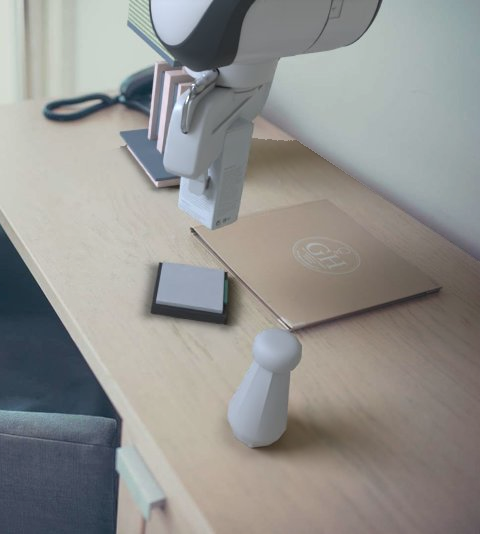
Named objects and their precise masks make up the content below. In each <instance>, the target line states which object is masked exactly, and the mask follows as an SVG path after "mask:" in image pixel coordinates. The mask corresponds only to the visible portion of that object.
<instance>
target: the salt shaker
mask: <svg viewBox="0 0 480 534" xmlns="http://www.w3.org/2000/svg"><path fill="white" fill-rule="evenodd" d="M251 354H252V357H253V361H252V362H251V364H250V366H249V367H248V369H247V371H246V373H245V375H244V377H243V378H242V380H241V382H240V384H239V386H238V387H237V389H236V391H235V392H234V394H233V396H232V397H231V400H230V401H229V403H228V407H227V420H228V422H229V425H230V428H231V430H232V433H233V437H234V438H235V439H237V440H238V441H239V442H241V443H242V444H244V445H246V446H247V447H249V448H250V449H254V448H260V447H267V446H270V445H271V444H273V443H275V442H277V441H278V440H280V438H281V436H283V434H284V432H285V431H286V430H287V427H288V426H287V425H288V413H289V412H288V411H289V400H290V399H289V398H290V385H291V384H290V383H291V372H292V371H294V370H295V369H296V368H297V366H298V365H299V364H300V362H301V360H302V358H303V357H302V355H303V344H302V343H301V341H300V340H299V338H298V337H297V336H296V335H294V334H293V333H292V332H291V331H289V330H286V329H283V328H281V327H280V328H278V327H269V328H266V329H263V330H260V332H259V333H258V334H257V335H256V336H255V337H254V339H253V343H252V349H251Z"/></svg>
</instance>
